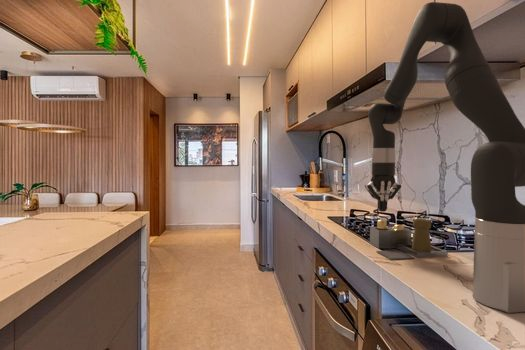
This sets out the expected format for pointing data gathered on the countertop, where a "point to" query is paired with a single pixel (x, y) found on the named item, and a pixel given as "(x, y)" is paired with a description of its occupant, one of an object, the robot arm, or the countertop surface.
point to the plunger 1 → (381, 224)
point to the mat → (395, 255)
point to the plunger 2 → (399, 227)
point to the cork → (421, 235)
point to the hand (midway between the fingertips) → (382, 211)
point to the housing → (400, 242)
